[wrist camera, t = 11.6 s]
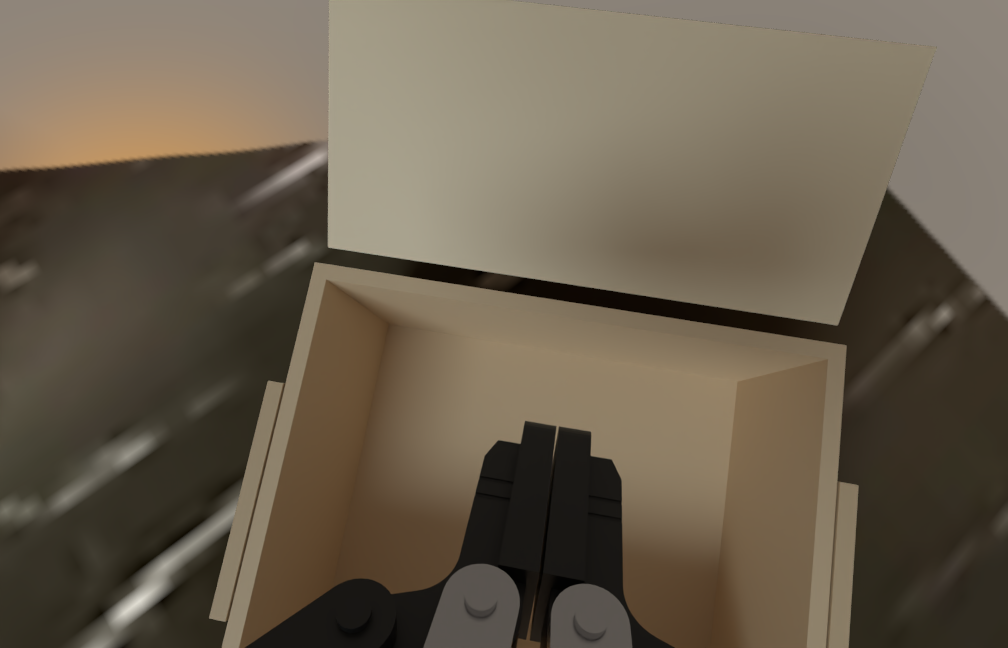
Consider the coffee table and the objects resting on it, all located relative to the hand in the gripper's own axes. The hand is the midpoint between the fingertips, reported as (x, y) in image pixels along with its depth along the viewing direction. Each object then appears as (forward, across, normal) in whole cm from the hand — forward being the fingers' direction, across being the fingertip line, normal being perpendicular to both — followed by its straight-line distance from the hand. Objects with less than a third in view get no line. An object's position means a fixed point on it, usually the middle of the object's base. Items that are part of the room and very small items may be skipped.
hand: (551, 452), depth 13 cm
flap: (+10, 0, -3) cm, 11 cm away
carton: (+10, 0, +15) cm, 18 cm away
